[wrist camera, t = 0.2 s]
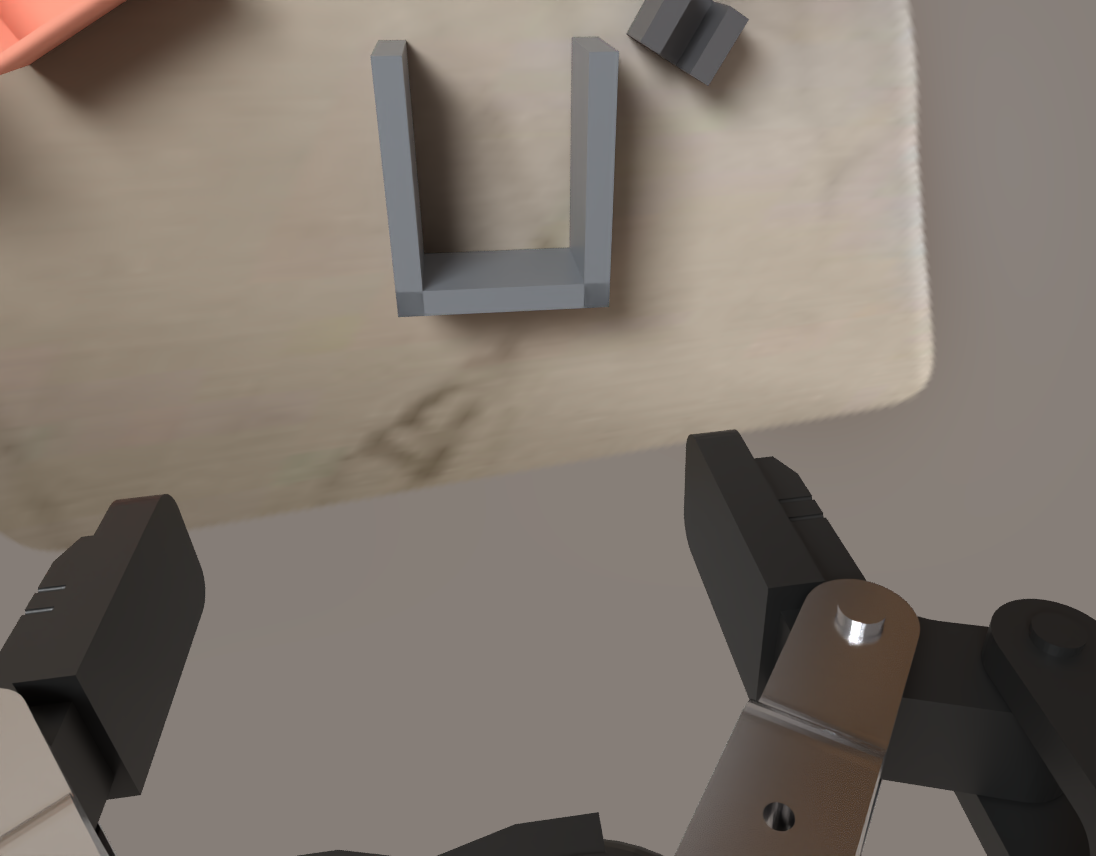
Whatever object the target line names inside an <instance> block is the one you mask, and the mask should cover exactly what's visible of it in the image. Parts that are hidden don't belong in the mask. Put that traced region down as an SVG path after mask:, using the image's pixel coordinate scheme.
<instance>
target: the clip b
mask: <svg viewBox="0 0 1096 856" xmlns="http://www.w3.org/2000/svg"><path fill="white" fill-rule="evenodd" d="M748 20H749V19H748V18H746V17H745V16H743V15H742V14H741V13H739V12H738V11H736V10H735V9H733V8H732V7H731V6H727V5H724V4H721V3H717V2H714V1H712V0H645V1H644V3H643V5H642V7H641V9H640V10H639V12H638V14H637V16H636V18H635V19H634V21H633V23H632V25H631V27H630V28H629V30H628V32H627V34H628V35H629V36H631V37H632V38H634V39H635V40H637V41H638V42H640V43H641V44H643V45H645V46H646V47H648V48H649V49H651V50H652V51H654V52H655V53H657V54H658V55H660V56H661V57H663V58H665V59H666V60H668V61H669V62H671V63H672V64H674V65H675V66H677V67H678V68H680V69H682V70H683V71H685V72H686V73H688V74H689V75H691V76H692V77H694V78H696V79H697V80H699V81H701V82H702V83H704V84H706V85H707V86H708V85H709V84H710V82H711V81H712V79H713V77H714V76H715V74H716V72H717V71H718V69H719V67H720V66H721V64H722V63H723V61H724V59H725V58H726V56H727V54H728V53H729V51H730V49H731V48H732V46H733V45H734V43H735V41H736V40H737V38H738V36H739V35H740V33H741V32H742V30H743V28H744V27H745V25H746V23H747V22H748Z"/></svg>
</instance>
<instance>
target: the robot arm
mask: <svg viewBox="0 0 1096 856" xmlns="http://www.w3.org/2000/svg"><path fill="white" fill-rule="evenodd" d="M685 466H686V467H685V497H684V520H685V530H686V536H687V540H688V544H689V548H690V551H691V553H692V556H693V558H694V561H695V563H696V566H697V569H698V571H699V573H700V576H701V579H702V581H703V584H704V586H705V588H706V591H707V594H708V596H709V599H710V601H711V604H712V606H713V609H714V611H715V614H716V616H717V619H718V621H719V623H720V626H721V629H722V632H723V634H724V636H725V639H726V642H727V644H728V646H729V649H730V652H731V654H732V657H733V659H734V662H735V664H736V667H737V669H738V672H739V674H740V677H741V679H742V682H743V684H744V687H745V689H746V692H747V695H748V697H749V699H750V700H749V701H748V703H747V704H746V705H745V707H744V709H743V711H742V713H741V715H740V717H739V719H738V721H737V723H736V725H735V727H734V729H733V732H732V734H731V736H730V738H729V740H728V742H727V744H726V747H725V749H724V751H723V753H722V755H721V757H720V759H719V762H718V764H717V766H716V768H715V770H714V772H713V774H712V776H711V778H710V781H709V783H708V785H707V787H706V789H705V791H704V793H703V796H702V798H701V800H700V802H699V804H698V806H697V808H696V810H695V813H694V815H693V817H692V819H691V821H690V823H689V825H688V827H687V830H686V832H685V834H684V836H683V838H682V840H681V842H680V845H679V847H678V849H677V851H676V853H675V855H674V856H861V855H862V852H863V848H864V845H865V841H866V838H867V834H868V831H869V827H870V823H871V820H872V816H873V813H874V809H875V806H876V802H877V798H878V795H879V791H880V788H881V784H882V780H889V781H895V782H902V783H908V784H915V785H921V786H926V787H933V788H939V789H945V790H952V791H954V792H955V794H956V796H957V798H958V800H959V802H960V804H961V806H962V808H963V810H964V811H965V813H966V815H967V817H968V819H969V821H970V823H971V825H972V827H973V829H974V831H975V833H976V835H977V837H978V838H979V840H980V842H981V844H982V846H983V848H984V850H985V852H986V854H987V856H1096V620H1094V619H1093V618H1091V617H1089V616H1088V615H1086V614H1084V613H1082V612H1080V611H1079V610H1076V609H1074V608H1072V607H1069V606H1067V605H1063V604H1060V603H1057V602H1052V601H1047V600H1040V599H1021V600H1015V601H1011V602H1008V603H1006V604H1004V605H1002V606H1001V607H999V609H998V610H996V611H995V613H994V615H993V616H992V619H991V622H990V625H989V627H984V626H976V625H967V624H959V623H950V622H942V621H936V620H929V619H926V618H922V617H918V616H917V615H916V613H915V612H914V610H913V608H912V607H911V606H910V605H909V604H908V603H907V601H905V600H904V599H903V598H902V597H901V596H899V595H898V594H896V593H894V592H893V591H892V590H890V589H888V588H885V587H883V586H881V585H878V584H875V583H873V582H869V581H866V579H865V578H864V576H863V575H862V573H861V571H860V570H859V568H858V567H857V565H856V564H855V562H854V560H853V559H852V557H851V556H850V554H849V553H848V551H847V550H846V548H845V547H844V545H843V544H842V542H841V540H840V539H839V537H838V536H837V534H836V533H835V531H834V529H833V528H832V526H831V525H830V523H829V522H828V520H827V519H826V518H824V517H823V512H822V511H821V509H820V508H819V506H818V505H817V503H816V501H815V500H812V495H811V494H810V492H809V491H808V489H807V487H806V486H805V484H804V483H803V481H802V480H801V478H800V477H799V475H798V474H797V473H796V472H794V471H793V470H792V469H790V468H789V467H787V466H786V465H784V464H783V463H781V462H780V461H779V460H777V459H776V458H774V457H773V456H772V457H765V458H755V459H754V458H753V456H752V454H751V453H750V451H749V449H748V447H747V446H746V444H745V442H744V440H743V439H742V437H741V435H740V434H739V432H738V431H737V430H735V429H734V430H726V431H717V432H709V433H700V434H691V435H689V436H688V438H687V443H686V465H685ZM204 603H205V582H204V576H203V571H202V568H201V566H200V563H199V560H198V558H197V555H196V552H195V550H194V547H193V545H192V542H191V539H190V537H189V534H188V532H187V529H186V526H185V524H184V521H183V519H182V516H181V513H180V511H179V508H178V506H177V504H176V502H175V500H174V499H173V498H172V497H171V496H170V495H168V494H163V495H154V496H146V497H137V498H129V499H120V500H116V501H114V502H113V503H112V504H111V505H110V507H109V509H108V511H107V512H106V514H105V516H104V518H103V520H102V521H101V523H100V525H99V527H98V529H97V530H96V532H95V534H94V536H85V537H81V538H80V539H79V540H77V541H76V542H75V543H74V544H73V545H72V546H71V547H70V548H68V549H67V550H66V551H65V552H64V553H63V554H62V555H61V556H59V557H58V558H57V559H56V560H55V561H54V562H53V563H52V565H51V567H50V569H49V570H48V572H47V574H46V575H45V577H44V579H43V580H42V582H41V584H40V585H39V587H38V593H35V594H34V595H33V597H32V599H31V600H30V602H29V604H28V606H27V607H26V609H25V611H26V613H25V615H22V616H21V617H20V619H19V621H18V622H17V624H16V626H15V628H14V629H13V631H12V633H11V634H10V636H9V638H8V639H7V641H6V643H5V644H4V646H3V648H2V649H1V651H0V856H117V855H116V853H115V851H114V849H113V847H112V845H111V843H110V841H109V839H108V837H107V836H106V834H105V832H104V830H103V828H102V827H101V825H100V823H99V822H98V821H99V818H100V815H101V813H102V810H103V807H104V805H105V802H106V800H108V799H115V798H122V797H130V796H137V795H141V792H142V790H143V787H144V783H145V781H146V778H147V775H148V772H149V769H150V766H151V763H152V760H153V757H154V754H155V751H156V748H157V745H158V742H159V739H160V736H161V733H162V730H163V727H164V724H165V721H166V718H167V715H168V712H169V709H170V706H171V704H172V701H173V698H174V695H175V692H176V688H177V686H178V683H179V680H180V677H181V674H182V671H183V668H184V665H185V662H186V659H187V656H188V653H189V650H190V647H191V644H192V641H193V638H194V635H195V632H196V629H197V626H198V623H199V620H200V618H201V614H202V612H203V608H204ZM299 856H387V855H379V854H369V853H361V852H352V851H344V850H335V851H327V852H320V853H313V854H306V855H299ZM438 856H663V855H661V854H659V853H656V852H653V851H651V850H648V849H646V848H643V847H640V846H636V845H632V844H628V843H624V842H620V841H612V840H606V839H603V835H602V829H601V824H600V818H599V813H598V812H597V813H591V814H584V815H577V816H570V817H563V818H556V819H550V820H542V821H535V822H528V823H522V824H515V825H513V826H510V827H507V828H505V829H502V830H500V831H497V832H495V833H493V834H490V835H487V836H485V837H483V838H480V839H478V840H475V841H473V842H470V843H468V844H465V845H463V846H460V847H458V848H456V849H453V850H450V851H448V852H445V853H443V854H440V855H438Z"/></svg>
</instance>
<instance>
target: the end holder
mask: <svg viewBox="0 0 1096 856" xmlns="http://www.w3.org/2000/svg"><path fill="white" fill-rule="evenodd" d="M618 60H619V51H617V50H616V49H615V48H613V47H612V46H610V45H609V44H608V43H606V42H605V41H603V40H602V39H601V38H599V37H572V76H571V167H570V248H548V249H524V250H499V251H475V252H451V253H427V254H424V246H423V234H422V222H421V211H420V199H419V187H418V175H417V164H416V152H415V140H414V128H413V117H412V105H411V93H410V82H409V70H408V58H407V46H406V40H379V41H378V42H377V44H376V46H375V48H374V50H373V52H372V54H371V65H372V75H373V84H374V93H375V103H376V112H377V121H378V131H379V140H380V150H381V159H382V168H383V178H384V187H385V196H386V206H387V215H388V224H389V234H390V243H391V252H392V262H393V271H394V281H395V290H396V299H397V309H398V317H409V316H430V315H451V314H471V313H492V312H512V311H533V310H553V309H574V308H595V307H609V294H610V268H611V242H612V216H613V190H614V164H615V138H616V112H617V86H618Z"/></svg>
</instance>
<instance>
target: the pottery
mask: <svg viewBox="0 0 1096 856" xmlns="http://www.w3.org/2000/svg"><path fill="white" fill-rule="evenodd" d="M125 1H126V0H0V75H1V74H4V73H7V72H10V71H13V70H16V69H19V68H22V67H25V66H27V65H30V64H31V63H33V62H34V61H36V60H37V59H39V58H40V57H42V56H43V55H45V54H46V53H48V52H49V51H51V50H52V49H54V48H55V47H57V46H58V45H60V44H62V43H63V42H65V41H66V40H68V39H69V38H71V37H72V36H74V35H75V34H77V33H78V32H80V31H81V30H83V29H84V28H86V27H87V26H89V25H90V24H92V23H93V22H95V21H96V20H98V19H99V18H101V17H102V16H104V15H105V14H107V13H108V12H110V11H111V10H113V9H114V8H116V7H117V6H119V5H120V4H122V3H123V2H125Z"/></svg>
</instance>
